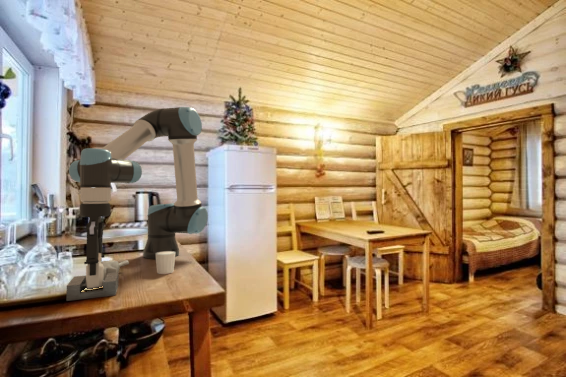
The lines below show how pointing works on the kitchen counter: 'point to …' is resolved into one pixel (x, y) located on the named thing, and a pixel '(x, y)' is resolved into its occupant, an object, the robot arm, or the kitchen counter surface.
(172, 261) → the white cup
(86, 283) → the pepper shaker
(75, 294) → the socket mount
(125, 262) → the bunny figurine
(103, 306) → the kitchen counter surface
